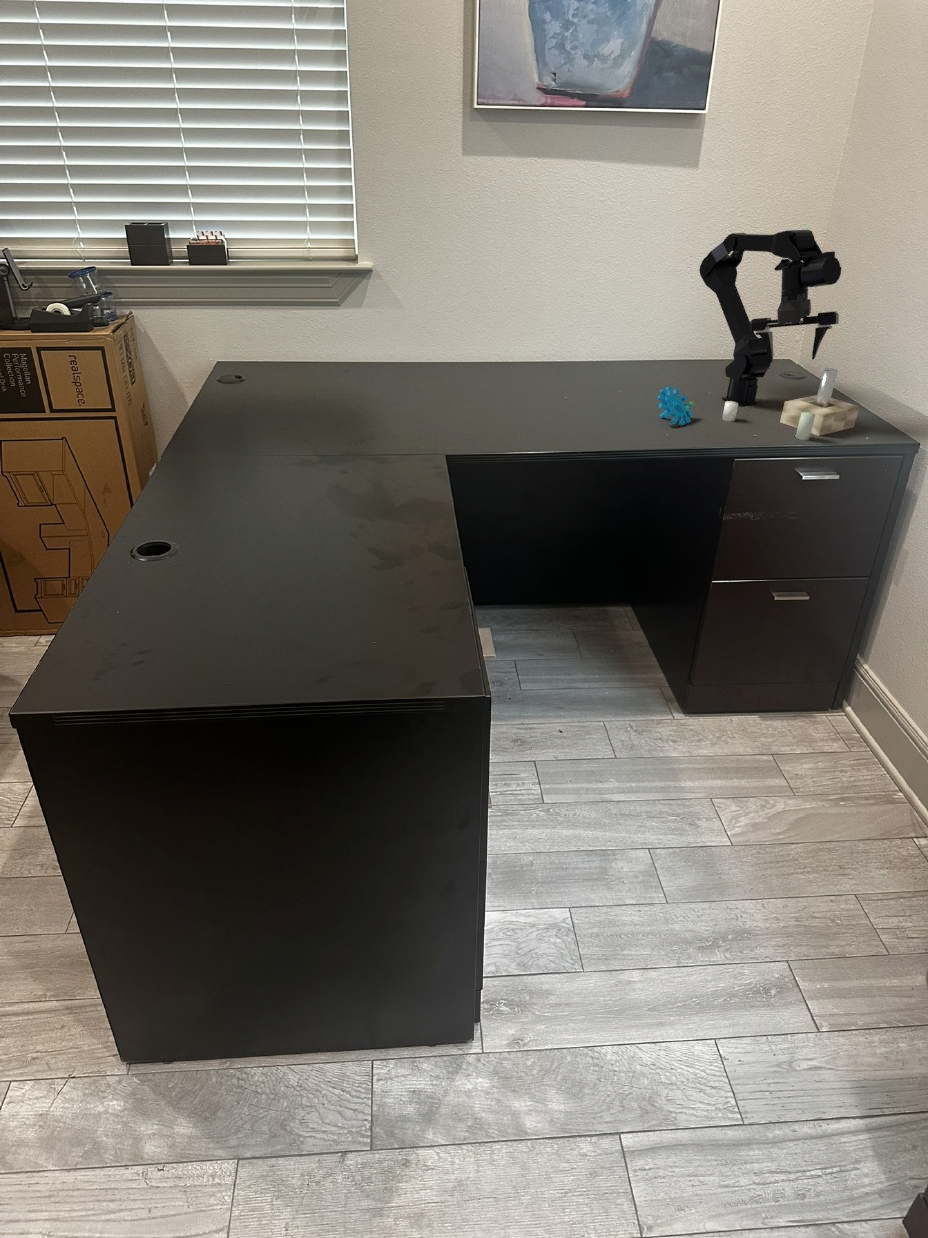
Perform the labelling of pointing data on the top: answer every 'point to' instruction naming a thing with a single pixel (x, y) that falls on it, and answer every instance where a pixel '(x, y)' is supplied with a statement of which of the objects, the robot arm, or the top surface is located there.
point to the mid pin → (805, 426)
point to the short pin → (730, 411)
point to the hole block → (820, 414)
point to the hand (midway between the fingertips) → (792, 360)
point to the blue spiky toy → (675, 406)
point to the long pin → (826, 387)
